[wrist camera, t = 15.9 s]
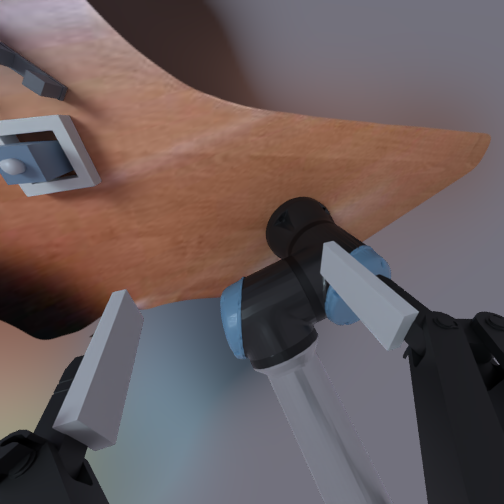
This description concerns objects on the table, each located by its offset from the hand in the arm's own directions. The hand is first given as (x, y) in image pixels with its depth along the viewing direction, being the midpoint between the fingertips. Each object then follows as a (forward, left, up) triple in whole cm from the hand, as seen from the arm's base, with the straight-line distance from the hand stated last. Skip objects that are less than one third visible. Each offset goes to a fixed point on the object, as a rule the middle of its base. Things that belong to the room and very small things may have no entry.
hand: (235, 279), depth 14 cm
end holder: (+7, +21, -29) cm, 36 cm away
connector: (+7, +21, -29) cm, 36 cm away
